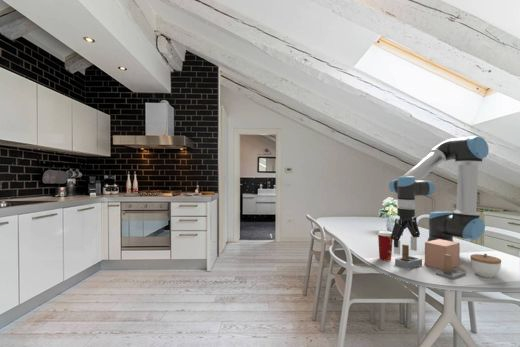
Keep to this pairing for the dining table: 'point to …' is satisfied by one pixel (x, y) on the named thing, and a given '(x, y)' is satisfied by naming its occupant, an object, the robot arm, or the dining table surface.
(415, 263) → the grey hollow block
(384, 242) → the paper cup
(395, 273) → the dining table surface
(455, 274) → the grey and wood stand
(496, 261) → the lidded jar
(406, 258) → the pin
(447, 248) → the block
